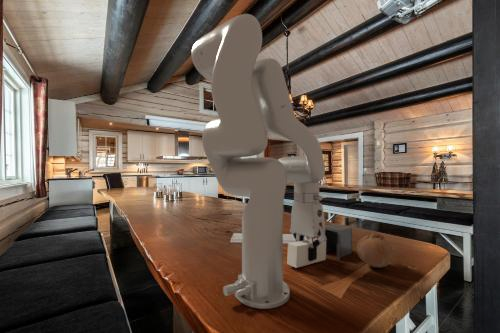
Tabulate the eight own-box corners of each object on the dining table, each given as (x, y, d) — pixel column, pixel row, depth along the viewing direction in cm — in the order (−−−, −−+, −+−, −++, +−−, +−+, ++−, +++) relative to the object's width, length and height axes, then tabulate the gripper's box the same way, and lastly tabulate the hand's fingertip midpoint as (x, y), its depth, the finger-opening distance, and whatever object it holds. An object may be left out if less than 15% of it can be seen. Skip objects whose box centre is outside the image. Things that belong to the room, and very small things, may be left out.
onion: (381, 261, 72) (381, 229, 72) (400, 274, 62) (400, 238, 63) (351, 260, 72) (351, 229, 72) (365, 274, 63) (365, 237, 63)
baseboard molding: (310, 247, 87) (304, 238, 99) (309, 239, 87) (304, 231, 99) (229, 245, 89) (233, 236, 101) (229, 237, 89) (233, 230, 101)
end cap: (338, 260, 72) (338, 232, 73) (316, 252, 80) (316, 227, 80) (354, 253, 78) (354, 228, 78) (332, 246, 85) (331, 223, 85)
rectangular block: (296, 267, 64) (297, 246, 65) (287, 263, 67) (287, 243, 68) (325, 259, 73) (326, 240, 73) (316, 256, 76) (317, 238, 76)
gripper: (337, 199, 66) (338, 263, 66) (294, 195, 79) (295, 248, 79) (321, 202, 61) (322, 270, 61) (279, 196, 75) (279, 252, 74)
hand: (306, 257), depth 70 cm, fingers closed on rectangular block, 3 cm apart
